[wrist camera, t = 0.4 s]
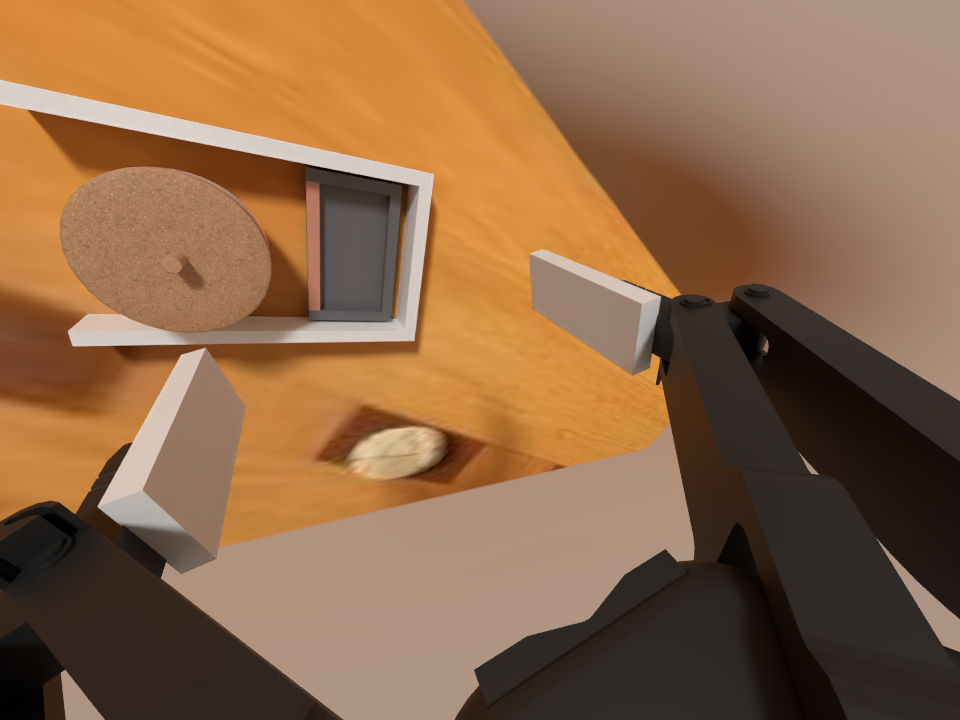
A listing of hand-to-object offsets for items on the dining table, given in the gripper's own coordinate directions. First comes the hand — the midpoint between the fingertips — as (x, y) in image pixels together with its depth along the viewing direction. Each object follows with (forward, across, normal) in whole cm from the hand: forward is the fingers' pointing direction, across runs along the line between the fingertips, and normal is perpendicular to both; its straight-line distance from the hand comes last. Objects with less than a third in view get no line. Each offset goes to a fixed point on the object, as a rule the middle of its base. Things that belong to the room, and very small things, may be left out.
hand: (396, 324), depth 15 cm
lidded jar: (+24, -11, +2) cm, 26 cm away
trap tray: (+24, 0, -2) cm, 24 cm away
